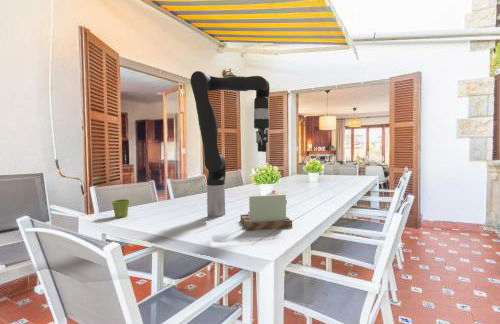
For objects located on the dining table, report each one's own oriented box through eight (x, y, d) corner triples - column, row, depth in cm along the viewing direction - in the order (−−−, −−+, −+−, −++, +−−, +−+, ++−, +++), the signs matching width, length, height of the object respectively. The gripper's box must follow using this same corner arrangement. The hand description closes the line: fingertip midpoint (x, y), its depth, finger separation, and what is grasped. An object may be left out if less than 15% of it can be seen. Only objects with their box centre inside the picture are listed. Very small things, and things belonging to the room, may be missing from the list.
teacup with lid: (264, 211, 169) (264, 191, 168) (268, 208, 177) (268, 188, 177) (285, 212, 165) (285, 191, 164) (288, 209, 174) (288, 189, 173)
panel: (250, 229, 128) (249, 196, 127) (249, 228, 129) (249, 196, 128) (286, 226, 131) (285, 194, 130) (285, 225, 132) (284, 194, 131)
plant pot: (107, 217, 159) (107, 201, 158) (121, 214, 168) (120, 198, 167) (121, 219, 155) (120, 202, 155) (134, 215, 164) (133, 199, 164)
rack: (247, 234, 125) (247, 223, 125) (240, 223, 143) (240, 214, 143) (292, 231, 129) (292, 220, 129) (280, 221, 147) (280, 212, 146)
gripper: (251, 119, 153) (251, 151, 154) (257, 117, 139) (257, 152, 140) (265, 120, 154) (265, 151, 155) (272, 117, 140) (273, 151, 141)
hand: (261, 151), depth 147 cm, fingers open, 8 cm apart
